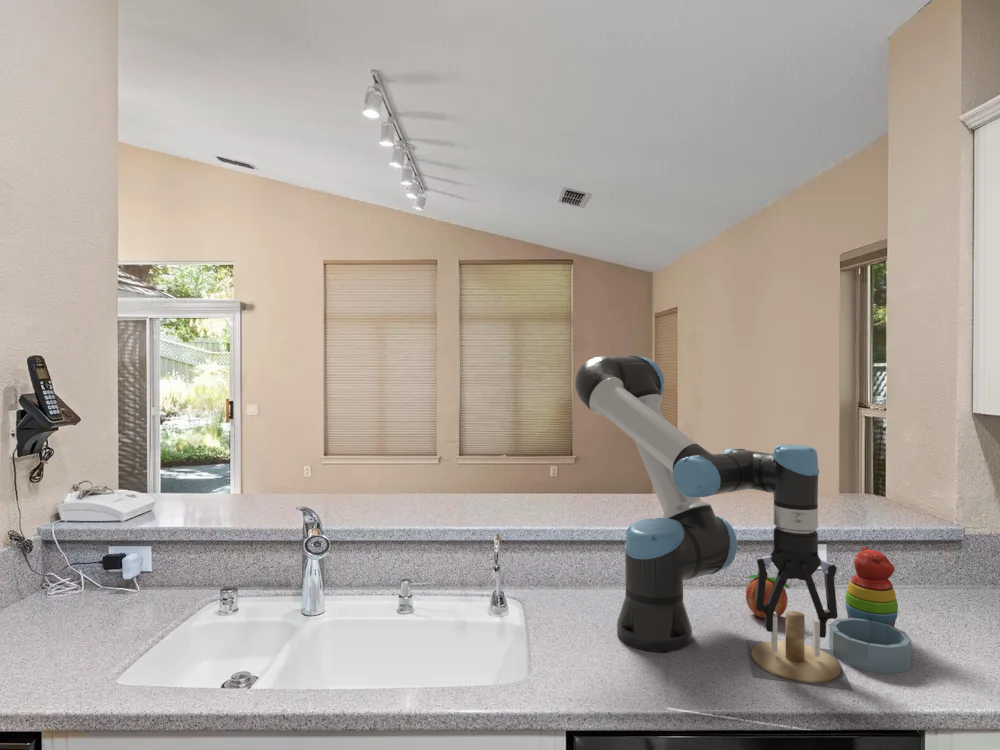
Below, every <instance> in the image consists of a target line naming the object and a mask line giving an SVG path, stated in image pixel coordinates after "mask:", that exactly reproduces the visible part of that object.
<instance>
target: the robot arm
mask: <svg viewBox="0 0 1000 750" xmlns="http://www.w3.org/2000/svg"><path fill="white" fill-rule="evenodd" d="M574 382H575V383H574V385H575V390H576V393H577V396H578V398H579V399H580V402H582V403H583V405H584V406H586V408H588V409H589V410H590V411H591V412H593V413H594V414H595V415H600V416H601V415H603V416H604V417H605V418H607V419H608V420H609V421H611V422H612V423H613V424H614V425H615V426H616V427H618V428H619V429H620V430H621V431H622V432H624V433H625V434H626V435H627V436H629V438H631V439H632V440H633V441H634V443H635V445H636V448H637V450H638V453H639V455H640V457H641V459H642V463H643V466H644V468H645V470H646V472H647V475H648V477H649V479H650V482H651V484H652V487H653V489H654V492H655V494H656V496H657V500H658V501H659V504H660V506H661V508H662V511H663V516H662V517H656V518H644V519H641V520H640V519H639V520H638V521H636V522H633V523H632V524H630V525H629V527H628V528H627V529H626V533H625V542H624V551H625V552H624V554H625V555H624V556H625V557H624V558H625V560H624V561H625V565H624V566H625V567H624V568H625V597H624V601H623V604H622V606H621V609H620V613H619V616H618V618H617V621H616V622H617V623H616V634H617V637H618V638H619V639H620V640H621V641H622V642H624V643H625V644H627V645H629V646H632V647H634V648H637V649H640V650H645V651H651V652H661V653H667V652H669V653H670V652H675V651H680V650H683V649H685V648H687V647H689V646H690V645H691V644H692V642H693V628H692V625H691V622H690V618H689V616H688V615H689V614H688V612H687V609H686V608H687V607H686V606H685V601H684V581H689V580H691V579H696V578H700V577H703V576H707V575H710V576H711V575H714V574H716V573H719V572H720V571H723V570H725V569H728V567H730V566H731V564H733V562H734V561H735V557H736V555H737V551H738V540H737V539H738V538H737V535H736V532H735V530H734V528H733V526H732V525H731V523H729V522H728V520H725V519H724V518H723V517H720V516H718V515H716V514H715V512H714V510H713V508H712V506H711V504H710V503H708V502H706V501H704V500H702V499H701V498H707V497H710V496H715V495H720V494H721V495H722V494H725V493H733V492H734V493H735V492H739V491H744V490H756V491H761V492H766V493H773V524H774V526H775V527H774V528H773V549H772V552H771V554H770V555H767V556H762V555H757V556H756V557H755V560H756V564H757V567H758V568H757V569H758V570H757V575H758V578H757V588H756V598H755V605H756V609H757V610H758V611H762V612H764V613H765V619H764V620H765V621H764V624H765V625H764V626H765V630H766V632H767V633H768V632H769V633H770V634H771V635H770V638H771V639H770V641H771V646H772V649H773V651H775V652H777V641H778V623H779V622H778V620H779V619H778V618H779V617H777V614H776V612H774V611H775V608H776V605H777V603H778V600H779V598H780V595H781V593H782V590H783V588H784V589H785V587H784V585H785V584H787V581H788V580H795V579H796V580H800V581H805V584H806V587H807V589H808V593H809V595H810V598H811V601H812V604H813V606H814V610H815V611H816V615H812V646H811V647H812V650H813V653H814V655H815V656H816V657H820V648H821V646H820V645H821V644H820V643H821V642H820V641H821V638H822V639H823V638H826V636H827V622H828V620H831V619H832V620H836V619H838V607H837V606H838V605H837V595H836V586H835V575H836V573H837V569H838V568H837V566H836V564H835V563H834V562H833V561H832V560H831V561H830V560H829V561H825V560H822V559H821V558H820V556H819V533H818V532H817V529H818V528H819V517H818V516H819V510H818V508H819V506H818V505H819V504H818V501H819V499H818V495H819V491H818V490H819V474H820V469H819V461H818V460H819V459H818V452H817V450H816V449H815V448H814V447H812V446H808V445H802V444H801V445H800V444H797V445H796V444H778V445H776V446H775V447H774V449H773V453H769V452H762V451H761V452H760V451H756V450H755V451H754V450H749V449H745V448H727V449H725V450H723V451H722V452H721V453H714V454H713V453H711V452H709V451H708V450H707V449H705V448H704V447H702V446H701V445H700V444H698V443H696V441H694V440H693V439H692V438H690V437H689V436H687V434H685V433H683V432H682V431H681V430H680V429H678V428H677V427H676V426H674V425H673V424H672V423H671V422H669V421H668V420H666V417H665V416H664V414H663V411H662V410H661V409H662V408H661V404H662V402H663V398H664V397H663V396H662V394H663V392H664V388H665V386H663V385H664V384H665V378H664V374H663V372H662V370H661V368H660V367H659V365H658V364H657V363H656V362H655V361H654V360H652V359H650V358H648V357H646V356H643V357H642V356H638V355H629V356H611V355H610V356H606V355H600V356H594V357H591V358H590V359H588V360H586V361H585V362H584V363H583V364H582V365H580V367H579V369H578V370H577V373H576V376H575V381H574ZM771 563H773V564H774V566H775V567H776V569H777V570H778V571H777V573H776V577H775V578H776V580H775V583H774V585H773V588H772V590H771V593H770V596H769V598H768V601H767V603H766V604H764V595H765V585H766V574H767V575H768V573H766V572H767V570H768V569H769V568H770V567H771V565H770V564H771ZM819 567H820V568H821V569H820V570H821V571H822V573H823V575H824V576H823V577H824V585H825V587H824V588H825V598H826V599H825V600H826V607H827V609H824V606H823V604H822V601H821V599H820V596H819V593H818V590H817V587H816V585H815V581H814V579H813V577H812V576H813V574H814V573H815V572H816V571H817V570H818V568H819Z"/></svg>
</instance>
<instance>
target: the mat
mask: <svg viewBox="0 0 1000 750" xmlns="http://www.w3.org/2000/svg"><path fill="white" fill-rule="evenodd" d="M764 642H765V641H761V640H754V639H753V640H752V639H745V643H746V649H747V652H748V653H747V654H748V658H749V664H750V668H751V674H752V678H756V679H764V680H771V681H780V682H785V683H792V684H793V683H795V684H801V685H808V686H815V687H822V688H830V689H831V688H832V689H839V690H844V691H845V690H846V691H854V688H853V687H852V686H851V683H850V681H849V679H848V677H847V675H846V673H845V671H844V669H843V667H842V664H841V663H840V661H839V659H837V658H836V657H835V656H833V654H832V652H831V650H830V648H821V647H820V650H822V651H824V652H826V653H828V654H829V655H831V656H832V657H834V658H835V659H836V660H837V661H838V662H839V664H840V675H839V677H838V678H836V679H835V680H832V681H829V682H823V683H806V682H798V681H793V680H788V679H785V678H781V677H778V676H776V675H773V674H771V673H769V672H767V671H765V670H763V669H762V668H760V667H759V666H758V665H757V664H756V663H755V662H754V661H753V659H752V649H753V648H754V647H755V646H756V645H758V644H760V643H764Z"/></svg>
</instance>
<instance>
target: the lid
mask: <svg viewBox="0 0 1000 750" xmlns="http://www.w3.org/2000/svg"><path fill="white" fill-rule="evenodd" d="M805 617H806V616H805V614H804V613H802V612H800V611H796V610H787V611H786V612H785V640H784V641H783V640H777V652H775V651H773V649H772V646H771V640H770V641H763V642H764V643H760V644H758V645H756V646H755V647H754V648H753V649H752V659H753V661H754V662H755V663H756V664H757V665H758V666H759V667H760V668H762V669H763V670H765V671H767V672H769V673H771V674H773V675H776V676H778V677H781V678H785V679H788V680H793V681H798V682H806V683H823V682H829V681H832V680H835V679H836V678H838V677H839V675H840V665H841V663H840V661H839V660H838V661H839V662H838V661H837V660H836V659H835V658H834V657H832V656H831V655H829V654H828V653H826V652H824V651H822V650H820V657H816V656H815V655H814V653H813V650H812V646H810V645H808V644H805V641H806V640H805V638H806V637H805V626H806V625H805V624H806V623H805V619H806V618H805ZM839 663H840V664H839Z"/></svg>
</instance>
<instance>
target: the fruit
mask: <svg viewBox="0 0 1000 750" xmlns="http://www.w3.org/2000/svg"><path fill="white" fill-rule="evenodd" d="M766 573H767V574H766V585H765V595H764V604H766V603H767V601H768V598H769V596H770V593H771V590H772V588H773V585H774V583H775V580H776V577H771V576H768V572H767V571H766ZM757 578H758V574H753V575H748V576H746V577H745V579H752V580H751V581H750V582H749V583H748V585H747V587H746V590H745V601H746V604H747V605H748V608H749V610H750V611H751V612H752V614H754V615H755V616H756V617H758V618H760V619H764V620H765V613H764V612H762V611H758V610H757V609H756V605H755V598H756V588H757ZM785 588H787V589H790V588H791V587H790V585H789V584H788V583H786V584H785V585H784V588H783V590H782V593H781V595H780V598H779V600H778V603H777V605H776V608H775V611H774V612H776V614H777V617H778V618H780V617H781V616H782V615H784V613H785V611H786V609H787V607H788V600H789V599H788V594H787V590H786V589H785Z"/></svg>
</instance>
